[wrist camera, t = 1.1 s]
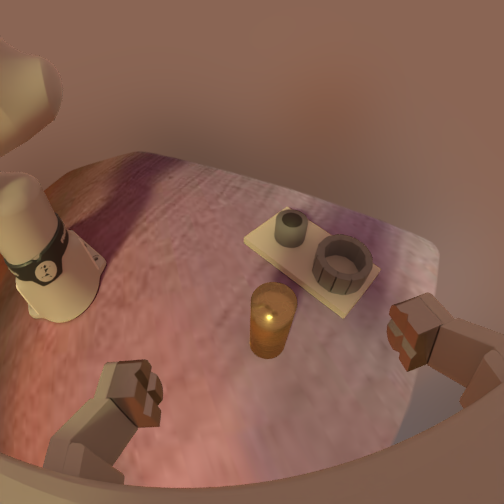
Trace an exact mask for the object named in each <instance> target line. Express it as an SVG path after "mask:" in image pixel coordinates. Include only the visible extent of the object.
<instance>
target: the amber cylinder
mask: <svg viewBox="0 0 504 504" xmlns="http://www.w3.org/2000/svg"><path fill="white" fill-rule="evenodd" d="M296 308H297V298H296V295H295V293H294V292H293V291H292V289H290V288H289V287H288V286H286V285H284V284H282V283H278V282H269V283H265V284H262V285H261V286H259V287H258V288H257V289H256V290H255V291H254V292H253V294H252V297H251V318H250V347H251V350H252V351H253V353H254V354H255V355H257V356H258V357H260V358H263V359H272V358H275V357H277V356H278V355H279V354H280V353H281V352H282V351H283V349H284V346H285V343H286V340H287V337H288V333H289V330H290V327H291V324H292V321H293V318H294V314H295V311H296Z"/></svg>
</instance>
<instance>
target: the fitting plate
mask: <svg viewBox="0 0 504 504" xmlns="http://www.w3.org/2000/svg"><path fill="white" fill-rule="evenodd" d="M244 243H245V244H246V245H247V246H249V247H250V248H251V249H252V250H254V251H255V252H256V253H258V254H259V255H260V256H262V257H263V258H264V259H266V260H267V261H268V262H270V263H271V264H272V265H273V266H275V267H276V268H277V269H279V270H280V271H281V272H283V273H284V274H285V275H287V276H288V277H289V278H290V279H292V280H293V281H294V282H296V283H297V284H298V285H300V286H301V287H302V288H304V289H305V290H306V291H307V292H309V293H310V294H311V295H313V296H314V297H315V298H317V299H318V300H319V301H321V302H322V303H323V304H324V305H326V306H327V307H328V308H330V309H331V310H332V311H334V312H335V313H336V314H338V315H339V316H340V317H341V318H343V319H344V317H345V316H346V315H347V314H348V313H349V311H350V310H351V309H352V308H353V306H354V305H355V304H356V303H357V301H358V300H359V299H360V298H361V296H362V295H363V294H364V292H365V291H366V290H367V289H368V287H369V286H370V285H371V283H372V282H373V281H374V279H375V278H376V277H377V275H378V274H379V272H380V270H381V269H380V268H379V267H377V266H376V265H375V264H373V261H372V255H371V253H370V252H369V250H368V248H367V247H366V246H364V245H365V244H363V243H362V242H360V241H359V240H357V239H356V238H353V237H351V236H347V235H342V234H340V235H339V234H337V235H331V234H329V233H328V232H326V231H325V230H323V229H322V228H320V227H319V226H317V225H316V224H314V223H312V222H311V221H309V220H308V219H307V217H306V216H305V215H304V214H303V213H302V212H300V211H297V210H292V209H290V208H289V207H286V208H285V209H283V210H282V211H280V212H279V213H278V214H276V215H275V216H273V217H272V218H270V219H269V220H268V221H266V222H265V223H263V224H262V225H261V226H259V227H258V228H256V229H255V230H254V231H252V232H251V233H249V234H248V235H247V236H245V237H244Z"/></svg>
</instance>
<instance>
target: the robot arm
mask: <svg viewBox="0 0 504 504" xmlns="http://www.w3.org/2000/svg"><path fill="white" fill-rule="evenodd" d="M62 94H63V86H62V80H61V77H60V74H59V72H58V70H57V69H56V67H55V66H54V65H53V64H52V63H51V62H50V61H49V60H47V59H46V58H44V57H41V56H37V55H31V54H27V53H24V52H21V51H19V50H17V49H15V48H13V47H12V46H10V45H9V44H8V43H6V42H5V41H4V40H3V39H2V38H1V36H0V158H1V157H2V156H4V155H5V154H7V153H9V152H10V151H12V150H13V149H15V148H17V147H18V146H20V145H22V144H23V143H25V142H27V141H28V140H30V139H31V138H32V137H33V136H34V135H36V134H37V133H38V132H40V131H41V130H42V129H43V128H45V127H46V126H47V125H48V124H50V123H51V122H52V121H53V120H55V118H56V116H57V114H58V112H59V109H60V106H61V102H62ZM0 253H1V254H2V255H3V257H4V261H5V263H6V264H7V266H8V268H9V270H10V271H11V272H12V273H13V274H14V275H15V276H16V288H17V290H18V291H19V292H20V294H21V295H22V296H23V297H24V299H25V300H26V301H27V302H28V307H29V314H30V315H31V316H32V317H33V318H45V319H47V320H49V321H52V322H58V323H60V322H66V321H69V320H72V319H74V318H76V317H77V316H79V315H80V314H81V313H82V312H84V311H85V310H86V309H87V307H88V306H89V305H90V304H91V302H92V301H93V299H94V297H95V295H96V293H97V290H98V287H99V280H100V275H101V273H102V272H103V270H104V268H105V266H106V260H105V259H104V258H103V257H102V256H101V255H100V254H99V253H98V252H96V251H95V250H94V249H93V248H92V247H91V246H90V245H88V244H87V243H86V242H85V241H84V240H83V239H82V238H81V237H80V236H78V235H77V234H76V233H75V232H74V231H73V230H68V229H67V228H66V227H65V224H64V223H63V221H62V219H61V218H60V217H59V216H58V214H57V213H55V212H54V211H53V209H52V207H51V205H50V203H49V201H48V199H47V197H46V195H45V193H44V191H43V189H42V187H41V184H40V183H39V181H38V180H37V179H36V178H35V177H33V176H31V175H30V174H27V173H24V172H10V173H6V172H1V171H0ZM389 315H390V317H391V318H392V319H391V320H390V322H389V323H388V325H387V337H388V341H389V343H390V345H391V347H392V349H393V350H395V351H397V352H399V353H400V354H399V360H400V361H401V363H402V365H403V366H404V368H405V369H406V371H407V372H409V371H411V370H414V369H416V368H419V367H421V366H423V365H426V364H427V365H428V366H430V367H432V368H433V369H435V370H437V371H438V372H440V373H442V374H443V375H445V376H447V377H449V378H450V379H452V380H454V381H455V382H457V383H459V384H460V385H462V386H464V387H466V389H465V391H464V393H463V394H462V396H461V398H460V401H459V402H460V404H461V405H462V407H463V410H461V411H460V412H458V413H456V414H454V415H453V416H451V417H449V418H448V419H446V420H444V421H442V422H440V423H439V424H437V425H435V426H433V427H431V428H429V429H427V430H425V431H423V432H421V433H419V434H417V435H415V436H413V437H411V438H409V439H406V440H404V441H402V442H400V443H397V444H395V445H393V446H390V447H388V448H386V449H383V450H381V451H378V452H375V453H373V454H370V455H367V456H364V457H362V458H359V459H356V460H353V461H350V462H347V463H344V464H340V465H337V466H334V467H330V468H326V469H323V470H319V471H315V472H311V473H307V474H303V475H298V476H293V477H289V478H283V479H278V480H272V481H266V482H260V483H252V484H244V485H235V486H223V487H206V488H161V487H144V486H133V485H124V475H123V473H121V472H120V471H118V470H117V469H115V468H114V467H112V466H113V464H114V463H115V462H116V460H117V459H118V457H119V456H120V454H121V453H122V451H123V450H124V449H125V447H126V446H127V444H128V443H129V441H130V440H131V438H132V437H133V435H134V434H135V433H136V431H137V430H138V428H145V427H160V418H161V410H160V408H159V407H158V405H159V404H160V403H161V401H162V400H163V388H162V384H161V381H160V379H159V377H158V376H157V375H156V374H154V373H153V372H151V367H152V366H151V365H150V363H149V362H148V360H131V361H119V362H107V363H106V364H105V365H104V367H103V370H102V373H101V376H100V379H99V383H98V386H97V389H96V392H95V395H94V399H89V400H88V401H87V402H86V403H85V404H84V405H83V406H82V407H81V408H80V409H79V410H78V411H77V412H76V413H75V414H74V415H73V416H72V417H71V418H70V419H69V420H68V421H67V422H66V423H65V424H64V425H63V426H62V427H61V428H60V429H59V430H58V431H57V432H56V433H55V434H54V435H53V436H52V437H51V439H50V442H49V446H48V449H47V453H46V456H45V460H44V464H43V468H42V467H39V466H36V465H32V464H29V463H27V462H24V461H21V460H18V459H15V458H13V457H10V456H8V455H5V454H3V453H0V504H504V334H501V333H498V332H495V331H493V330H490V329H487V328H484V327H482V326H479V325H476V324H473V323H471V322H468V321H465V320H462V319H460V318H457V319H454V318H453V317H452V316H451V314H450V313H449V312H448V311H447V310H446V309H445V308H444V307H443V306H442V305H441V304H440V303H439V302H438V301H437V299H436V298H435V297H434V296H433V295H432V294H430V293H428V292H427V293H425V294H422V295H419V296H417V297H414V298H411V299H408V300H406V301H403V302H400V303H397V304H394V305H392V306H391V308H390V311H389Z"/></svg>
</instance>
